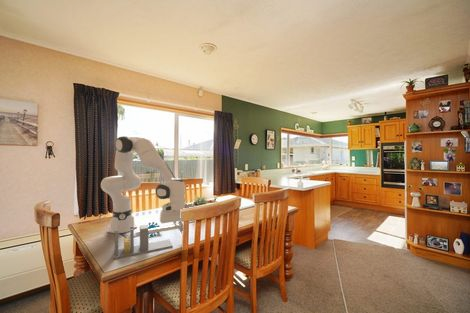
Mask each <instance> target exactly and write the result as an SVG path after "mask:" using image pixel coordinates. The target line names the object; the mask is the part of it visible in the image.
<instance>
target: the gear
mask: <svg viewBox="0 0 470 313" xmlns="http://www.w3.org/2000/svg"><path fill="white" fill-rule="evenodd" d="M146 225H147V226H148V229H152V228H158V227H160V225H159V224H158V223H157V222H156V223H155V222H153V221H152V223H151V222H148V224H146ZM159 233H160V232H156V233H150V234H148V236H149V237H150V238H151V237H152V236H154V237H155V236H156V235H158V234H159Z"/></svg>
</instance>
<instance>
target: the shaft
mask: <svg viewBox="0 0 470 313" xmlns="http://www.w3.org/2000/svg"><path fill="white" fill-rule="evenodd" d="M177 222H178V223H176V225H178V224H179V223H180V221H177ZM183 222H184V221H183ZM183 222H182V224H181V228H177V229H176V228H175V224H172V225H171V224H170V225H166V226H161V227H160V226H159V227H156V228H152V229H148V234H149V235H151V234H150V233H153V234H154V233H155V234H157V232H159V233H160V232H161V233H162V232H167V231H173V230H178V231H180V233H181V234H183V233H182V231H183ZM135 236H136V237H137V236H140V230H135Z"/></svg>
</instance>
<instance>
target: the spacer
mask: <svg viewBox="0 0 470 313" xmlns="http://www.w3.org/2000/svg"><path fill="white" fill-rule="evenodd" d="M123 248H124V254H127V253H130V236H128V237H124V238H123Z"/></svg>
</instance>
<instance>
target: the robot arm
mask: <svg viewBox="0 0 470 313" xmlns="http://www.w3.org/2000/svg"><path fill="white" fill-rule="evenodd" d="M114 145H115V146H114V147H115V149H116V150H115V156H114V169H115V170H116V171H117V172H119V173H122V174H121V175H113V176H108V177H104V178H102V180H101V182H100V188H101V190H102V191H103V192H105V193H106V194H108V196H110V198H111V200H112V205H113V207H112V208H113V210H112V218H111V219H110V221H109V222H110V223H109V224H110V225H109V228H108V229H107V231H106V232H107V233H112V234H115V228H117V227H118V234H124V233H127V232H130V226H133V229H137V228H138V226H137V225H136V224H135V217H134V215H132V214H133V213H132V212H133V210H132V205H131V204H132V201H131V197H129V196H127V195H125V194H123V193H122V192H125V191H134V190H136V189H139V188H140V186H141V184H142V180H141V176H139V175H138V174H136V172H135V171H134V168H133V166H134V164H133V163H134V153H137V156H138V158H139V160H140V162H141V164H142V165H143V166H144V167H146V168H147V169H152V170H155V171H157V172H158V173H160V174H161V175H162V177H163V179H164V180H165V182H163V183H160V184H158V185H156V187H155V195H156V197H157V198H158V199H160V200H166V199H169V202H166V203H164V204H162V205H161V211H160V213H159V222H160V223H161V224H167V223H172V224H173V225H175V228H176V229H175V230H178V229H177V228H181V224H182V222H181V218H180V209H183V208H189V207H194V206H195V204H194V203H186V197H185V194H186V183H185V181H184V179H183V178H180V177H175V175H174V173H173V172H172V170H171V169H170V167H169V165H168V164H167V163H166V162H165V160H163V158H162V157H161V156H160V154H159V153H158V151H157V149H156V147H155V145H154V143H153V141H151V140H150V138H149V137H148V136H146V135H138V134H137V135H136V134H135V135H126V136H125V135H124V136H123V135H122V136H120V137H117V138H116V140H115V144H114ZM178 221H180V223H179V224H178V223H177V222H178ZM177 224H178V225H177Z"/></svg>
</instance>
